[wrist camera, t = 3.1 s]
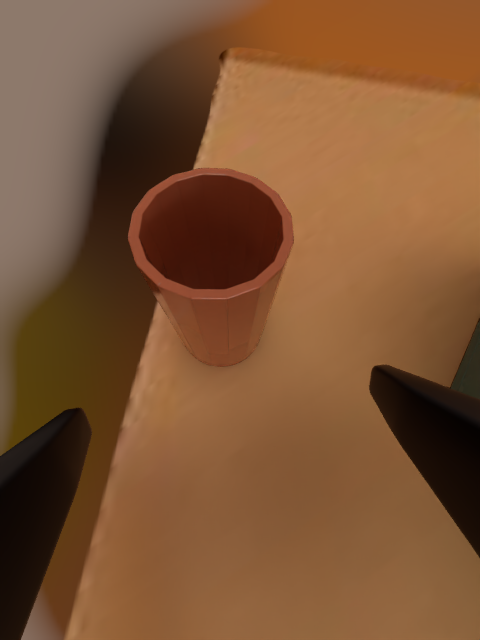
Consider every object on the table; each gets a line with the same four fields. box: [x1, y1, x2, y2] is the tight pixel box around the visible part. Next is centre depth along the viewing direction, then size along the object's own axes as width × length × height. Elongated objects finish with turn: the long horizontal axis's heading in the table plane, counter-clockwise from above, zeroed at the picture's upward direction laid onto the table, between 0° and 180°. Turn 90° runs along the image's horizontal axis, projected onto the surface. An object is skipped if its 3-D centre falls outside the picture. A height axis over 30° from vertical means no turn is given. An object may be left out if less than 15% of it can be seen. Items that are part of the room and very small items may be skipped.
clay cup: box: [128, 168, 294, 366], centre depth 17 cm, size 7×7×12 cm
